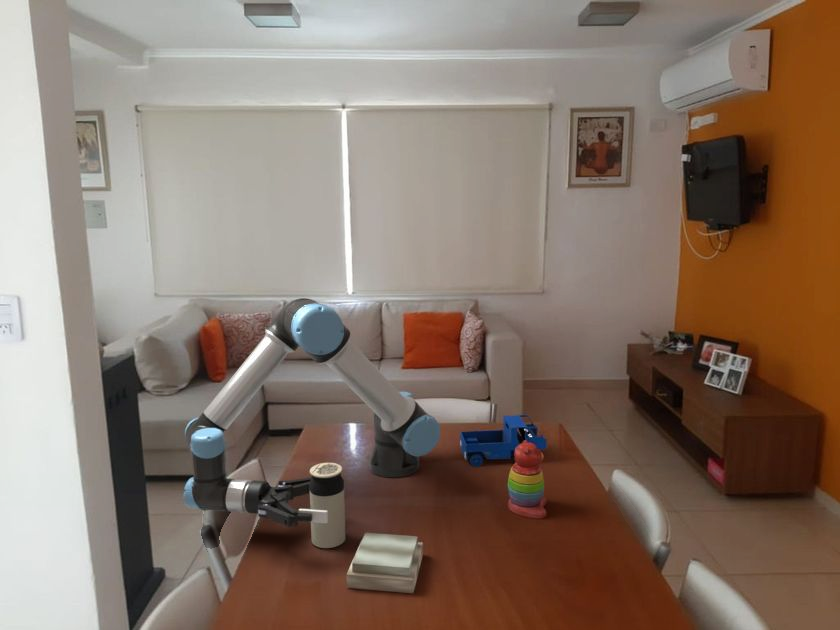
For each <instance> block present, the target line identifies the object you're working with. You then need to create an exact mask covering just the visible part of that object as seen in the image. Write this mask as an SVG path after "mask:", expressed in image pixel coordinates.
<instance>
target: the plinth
mask: <svg viewBox="0 0 840 630" xmlns="http://www.w3.org/2000/svg"><path fill="white" fill-rule="evenodd" d="M358 545H359V546H358V547H357V550H356V552H355V554H354V557H353V559H352V561H351V564H350V566H349V568H348V570H347V572H346V575H345V576H346V588H348V589H359V590H369V591H370V590H371V591H381V592H392V593H395V592H396V593H405V594H414V593H415V592H414V591H415V589H416V585H417V580H418V576H419V572H420V569H421V563H422V559H423V555H424V548H423V547H424V543H423V542H422V541H421V542H419V538H418V536H416V535H403V534H402V535H401V534H390V533H389V534H388V533H375V532H373V533H372V532H365V533H364V535H363V537H362V538H361V541H360V542H359V544H358Z"/></svg>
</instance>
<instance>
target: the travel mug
mask: <svg viewBox="0 0 840 630" xmlns="http://www.w3.org/2000/svg"><path fill="white" fill-rule="evenodd" d="M342 472H343V467H342V466H341V465H340V464H338V463H335V462H323V463H322V462H320V463H318V464H315V465H313V466H312V467H311V468H310V469H309V473H310V475H311V477H312V479H311V481H310V483H309V489H310V493H309V506H310V507H309V509H312V510H327V511H328V523H314V522H310V532H311V533H310V534H311V544H312V545H313V546H315V547H318V548H321V549H330V548H336V547H338V546H340V545H342V544H343V543H345V541H346V512H345V511H346V507H345V505H346V504H345V480H344V479H343V477H342Z"/></svg>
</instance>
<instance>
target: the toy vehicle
mask: <svg viewBox="0 0 840 630" xmlns="http://www.w3.org/2000/svg"><path fill="white" fill-rule="evenodd" d="M524 417H527V420H529V421H530V424H529V423H528V424H526V422H525V421H524V420H523V419H522V418H524ZM502 423H503V424H502V425H503V428H502V429H491V430H469V431H468V430H467V431H466V430H465V431H462V430H461V431H460V432H459V433H460V436H459V437H460V440H459V441H460V444H459V447H460V449H461V452H462V454H463V457H464V460H465V461H469V462H470V465H471V466H472V467H474V466H478V467H480V466H482V465H483V463H484V458H483V457H485V458H486V459H487V460H501V459H503V460H505V459H511V456H513V457H512V458H513V462H514V464H515V463H516V460H515V455H514V452H515V449H516V447H517V446H518V445H520V444H522V443H523V441H524V440H527V443H532V444H534V445H536V447H537V448H538V449H539V450H547V447H548V446H547V442H548V440H547V438H545V436H543V435H542V433H541V432H540V430H539V429H538V427H537V426H536V425H535V424H534V423H533V421H532V420H531V418H530V417H529V416H528V415H527V414H516V415H503V422H502ZM538 434H539V436H538ZM468 458H469V460H468Z"/></svg>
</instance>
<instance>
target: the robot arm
mask: <svg viewBox="0 0 840 630" xmlns="http://www.w3.org/2000/svg"><path fill="white" fill-rule="evenodd" d="M264 333H265V335H264V337H263V338H262V339H261V340H260V342H259V343H258V344H257V346H255V348H254V349H253V350H252V352H251V353H250V354H249V356H248V357H247V358H246V359H245V360H244V362H242V364H241V365H240V366H239V368H238V369H237V370H236V372H235V373H234V374H233V375H232V376H231V377H230V379H229V380H228V381H227V383H226V384H225V385H224V386H223V387H222V389H221V390H220V391H219V392H218V394H217V395H216V396H215V397H214V399H213V400H212V401H211V402H210V404H208V406H207V407H206V408H205V410H204V411H203V412H202V413H201V414H200V416H198V417H195V418H193V419H192V420H190V421H189V422H188V424H187V425H186V427H185V429H184V440H185V443H186V445H187V446H188V450H189V453H190V456H191V461H192V463H191V464H192V469H193V470H192V471H193V476H192V477H190V478H189V479H188V480H187V481H186V483H185V485H184V489H183V490H184V492H183V493H182V494H183V502H184V505H186V507H187V508H189V509H193V510H201V511H217V512H218V511H220V512H221V511H222V512H233V513H238V514H241V513H244V514H246V513H248V514H253V515H254V514H255V515H258V517H259V518H265V519H268V520H270V521H272V522H275V523H277V524H279V525H282V526H284V527H287V528H292V527H297V526H298V525H299V522H303V523H311V522H314V523H328V511H327V510H312V509H310V508H299V509H298V510H296V508H293V507H292V506H291V505H289V504H288V502H289V501H292V500H294V498H297V497H301V496H304V495H308V494H310V489H309V483H310V481H311V479H312V476H311V477H304V478H299V479H298V478H297V479H296V478H295V479H290V480H278V486H271V485H270V483H269V482H268V481H266V480H251V479H237V478H228V474H227V473H228V472H227V462H226V445H227V444H226V442H225V436H224V435H225V433H226V431H227V430H228V429H229V427H230V426H231V425H232V423H234V421H235V420H236V418H238V416H239V415H240V414H241V413H242V411H243V410H244V409H245V407H246V406H247V405H248V404H249V402H251V400H252V399H253V398H254V397H255V395H256V394H257V393H258V392H259V391H260V389H261V388H262V386H263V385H264V384H265V383H266V382H267V380H269V378H270V376H271V375H272V374H273V373H274V371H276V369H277V368H278V367H279V365H280V364H281V363H282V362H283V361H284V360H285V358H286V357H287V356H288V354H290V353H295V352H296V350H297V349H298V348H300V349H302V350H303V351H304V352H305V353H306V354H307V355H308V356H309V357H310V358H311V359H312V360H313V362H315V363H316V364H317V365H324V364H325V365H326V366H327V367H329V368H330V369H331V370H332V372H333V373H334V374H335V375H336V376H337V377H338V378H340V380H341V381H343V383H345V385H347V387H348V388H349V389H351V391H352V392H353V393H355V395H356V396H357V397H358V398H360V400H361V401H362V402H363V403H365V404H366V406H368V408H369V409H370V410H371V411H372V412H373V423H374V424H373V426H374V429H373V430H374V443H373V444H374V445H373V447H372V450H371V453H370V457H369V461H368V462H369V463H368V465H369V467H368V468H369V470H370V472H372V473H373V474H374V475H377V476H380V477H382V478H402V477H408V476H410V475H413V474H414V473H416V472H417V471H418V470H419V469H420V457H423V456H426V455H427V454H429V453H430V452H431V451H433V450H434V449H435V448H436V446H437V445H438V443H439V441H440V438H441V437H440V436H441V425H440V423H439V422H438V420H437V419H436V418H435V417H434V416H432V415H430V414H429V413H428V412H426V411H425V409H423V407H422V406H421V405H419V403H418V402H417V401H416V400H415V399H414V398H413V397H414V395H413V394H412V393H411V392H409V391H399V390H398V389H397V387H395V386H394V385H393V384H392V382H390V381H389V379H388V378H386V376H384V374H383V373H382V372H381V371H380V370H379V369H378V368H377V367H376V366H375V365H374V364H373V363H372V362H371V361H370V360H369V358H368V357H367V356H366V355H365V354H364V353H363V352H362V350H360V349H359V347H357V346H356V345H355V343H354V342H353V341H351V339H352V332H351V330H349V328H348V327H347V326H346V325H345V324H344V322H343V321H342V318H341V317H340V315H339V314H338V312H336V311H335V310H334V309H333V308H332V307H330V306H328V305H325V304H323V303H319V302H317V301H316V300H313V299H311V298H305V297H303V298H302V297H301V298H300V297H299V298H296V299H294V300H291V301H290V302H288V303H287V304H286V305H285V306H284V307H283V308H282V309H280V311H279V312H278V314H277V315H276V316H275V317H274V318H273V319H272V321H271V322H270V323H269V325H268V326H267V327H266V328H265V331H264Z"/></svg>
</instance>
